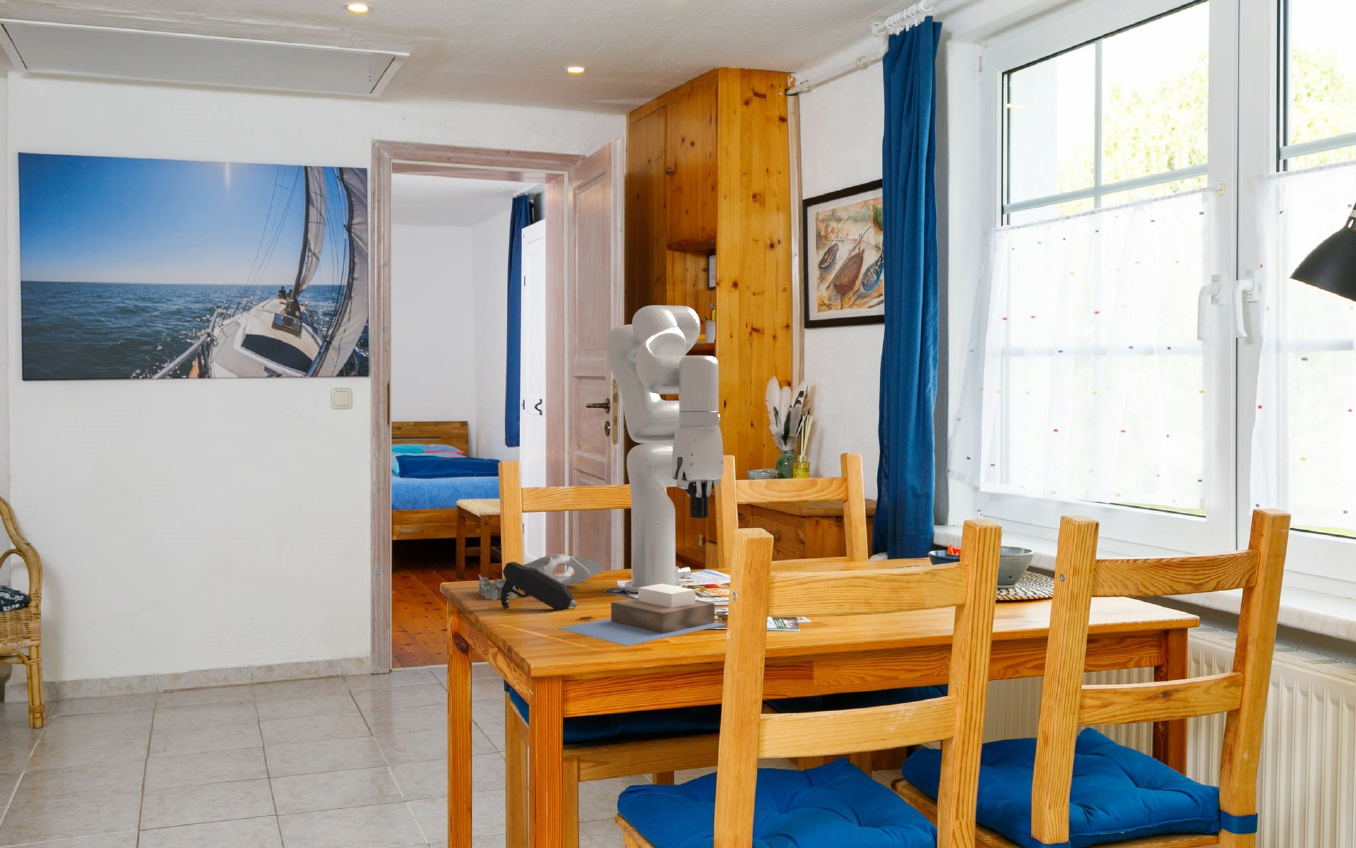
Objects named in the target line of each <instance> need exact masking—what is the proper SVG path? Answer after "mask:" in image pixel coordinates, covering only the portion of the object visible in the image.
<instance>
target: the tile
mask: <svg viewBox="0 0 1356 848" xmlns="http://www.w3.org/2000/svg"><path fill="white" fill-rule="evenodd" d="M637 594H638V595H637V598H638V601H641V602H646V603H651V604H655V605H660V606H665V607H670V608H673V607H679V606H684V605H689V604H694V603H695V600H696V589H692V588H688V587H684V586H683V587H678V586H672V585H667V584H657V585H651V586H645V587H639V588H638V593H637Z"/></svg>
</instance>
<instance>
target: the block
mask: <svg viewBox="0 0 1356 848" xmlns="http://www.w3.org/2000/svg"><path fill="white" fill-rule="evenodd" d="M715 607H716V606H715V602H709V601H704V600H699V599H695V603H694V604H689V605H684V606H679V607H673V608H670V607H665V606H660V605H655V604H651V603H646V602H641V601H638V597H634V598H628V599H623V600H617V601H612V602H610V612H611V613H610V616H611V617H610V618H611V622H615V623H619V624H623V625H627V626H632V627H636V628H640V629H645V630H649V631H653V632H658V633H662V634H664V633H669V632H673V631H678V630H683V629H688V628H692V627H697V626H702V625H706V624H711V623H715V622H716V621H715V620H716V619H715Z"/></svg>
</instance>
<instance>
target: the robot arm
mask: <svg viewBox="0 0 1356 848" xmlns="http://www.w3.org/2000/svg"><path fill="white" fill-rule="evenodd" d="M700 334H701V321H700V317H699V315H698V313H696V311H695V309H693V308H692V307H690V306H686V305H658V304H656V305H655V304H654V305H653V304H652V305H647V306H646V305H645V306H643V307H642V308H640V309H638V310H637V311H636V312H635V313H634V315H633V317H632V322H631V324H624V325H619V326H616V327H613V328H612V329H611V330H610V331H609V332H608V334H607V337H606V342H605V344H606V345H605V346H606V347H605V348H606V358H607V363H608V366H609V369H610V372H611V373H612V374H611V375H612V376H613V379H614V380H615V383H616V384H617V386H618V388H619V390H620V396H621V401H622V408H623V413H624V418H625V423H626V429H627V433H628V435H629V437H630V440H632V441H633V442H635V443H639V444H638V445H635V446H633V447H632V448H631V449H630V450H629V451H628V454H627V455H626V470H627V476H628V481H629V489H630V503H631V504H630V505H631V506H630V507H631V508H630V513H631V514H630V516H631V522H630V523H631V533H630V534H631V535H630V536H631V580H628V581H626V582H625V583H624V587H623V588H624V590H626V591H627V592H631V593H636V592H638V588H639V587H645V586H651V585H657V584H667V585H672V586H678V587H683V588H684V586H683V585H684V584H683V582H681V581H680V579H681V578H682V577H683V578H684V577H689V576H691V575H692V570H691V568H690V567H689V566H686V567H681V568H679V567H680V566H676V507H675V504H674V502H673V501H672V499H671V498H670V496H669V495H668V494H667V493H666V492H665V490H664V488H670V487H671V488H673V487H677V488H680V489H683V490H685V491H686V494H687V497H689V500H690V503H689V507H690V508H689V509H690V511H689V513H690V515H689V517H690V518H692V519H708V518H709V497H711V494H712V490H713V488H715V487H717V486H720V485H721V484H722V480H721V478H722V477H723V475H724V472H725V471H724V467H725V465H724V464H725V460H724V446H723V437H722V431H721V428H720V424H719V423H720V422H721V421H720V420H721V415H720V412H719V410H720V407H719V405H720V402H719V401H720V400H719V398H720V396H719V395H720V394H719V393H720V390H719V389H720V387H719V386H720V385H719V383H720V382H719V381H720V379H719V377H720V376H719V375H720V372H719V367H720V366H719V361H718V359H717V358H716V357H715V356H713V355H687V353H689V351H691V349H692V348H693V347H694V346H695V344H696V343H697V341H698V339H699V337H700ZM661 395H678V400H664V399H662V398H661Z"/></svg>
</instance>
